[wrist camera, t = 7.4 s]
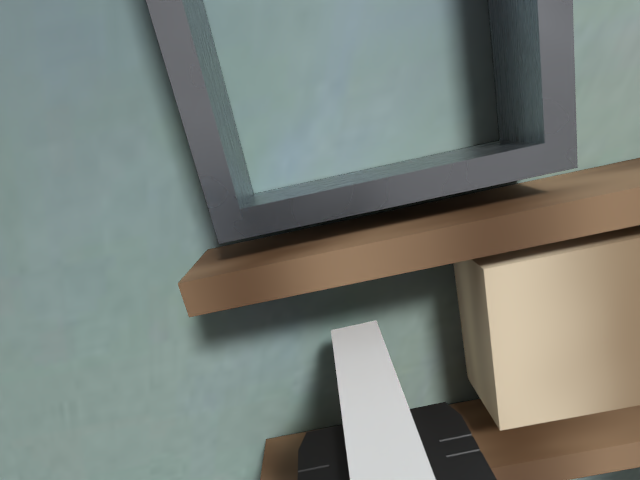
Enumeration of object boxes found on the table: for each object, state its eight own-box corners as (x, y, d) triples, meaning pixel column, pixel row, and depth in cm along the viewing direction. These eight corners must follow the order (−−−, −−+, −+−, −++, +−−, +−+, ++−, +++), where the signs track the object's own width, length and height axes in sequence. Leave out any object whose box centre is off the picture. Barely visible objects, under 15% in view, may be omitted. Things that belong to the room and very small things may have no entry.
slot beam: (272, 459, 16) (262, 534, 13) (207, 249, 13) (177, 283, 10) (678, 383, 15) (766, 444, 12) (690, 147, 12) (804, 152, 10)
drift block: (464, 372, 15) (499, 430, 12) (447, 239, 14) (483, 269, 11) (674, 332, 15) (763, 382, 12) (681, 191, 13) (784, 208, 10)
